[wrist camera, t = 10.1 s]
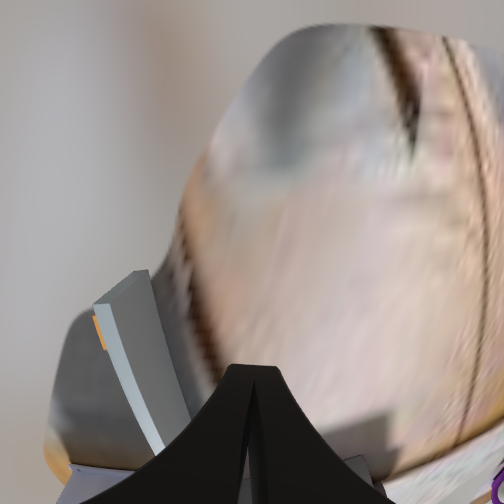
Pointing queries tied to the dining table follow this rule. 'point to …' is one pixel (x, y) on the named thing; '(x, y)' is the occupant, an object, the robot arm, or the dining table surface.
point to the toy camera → (498, 489)
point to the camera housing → (354, 463)
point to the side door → (142, 358)
